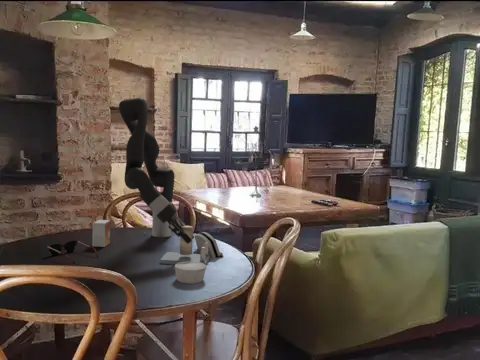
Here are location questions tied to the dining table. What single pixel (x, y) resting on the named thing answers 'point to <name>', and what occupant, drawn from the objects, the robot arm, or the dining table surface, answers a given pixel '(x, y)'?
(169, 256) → the pad
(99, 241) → the small box
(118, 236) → the dining table surface
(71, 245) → the sunglasses
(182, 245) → the birch pin
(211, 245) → the grey half-round upright piece
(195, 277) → the ramekin
